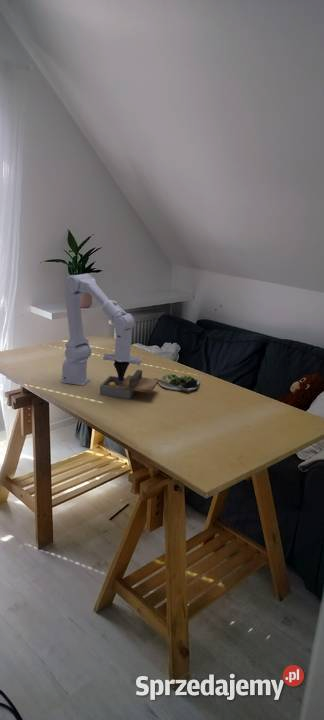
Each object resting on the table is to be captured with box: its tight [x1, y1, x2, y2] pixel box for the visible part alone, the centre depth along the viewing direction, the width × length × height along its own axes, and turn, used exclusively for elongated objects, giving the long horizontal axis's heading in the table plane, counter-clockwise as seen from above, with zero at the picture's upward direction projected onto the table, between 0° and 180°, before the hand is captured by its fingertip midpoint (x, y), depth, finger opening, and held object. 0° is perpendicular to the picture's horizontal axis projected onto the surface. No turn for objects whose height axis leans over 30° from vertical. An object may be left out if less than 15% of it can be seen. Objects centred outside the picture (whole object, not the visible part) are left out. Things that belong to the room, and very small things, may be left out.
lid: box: [119, 369, 159, 394], centre depth 200 cm, size 13×13×4 cm
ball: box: [108, 382, 116, 387], centre depth 203 cm, size 3×3×3 cm
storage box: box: [99, 375, 136, 400], centre depth 203 cm, size 12×12×4 cm
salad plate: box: [153, 374, 201, 393], centre depth 215 cm, size 19×18×5 cm
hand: (121, 379), depth 197 cm, fingers closed
